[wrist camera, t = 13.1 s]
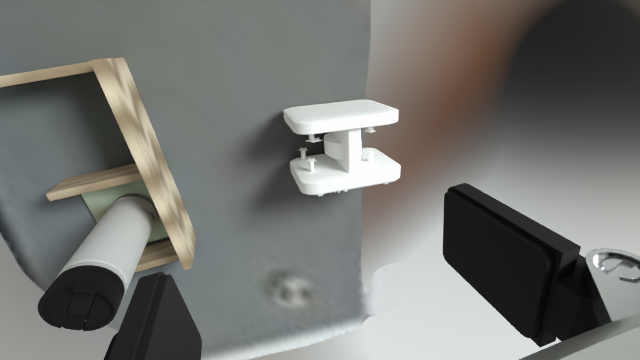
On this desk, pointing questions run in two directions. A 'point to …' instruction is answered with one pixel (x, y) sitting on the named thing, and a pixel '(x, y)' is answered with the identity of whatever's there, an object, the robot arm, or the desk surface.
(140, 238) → the travel mug
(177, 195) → the desk dock
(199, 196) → the desk surface
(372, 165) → the cable organizer
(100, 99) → the desk surface
